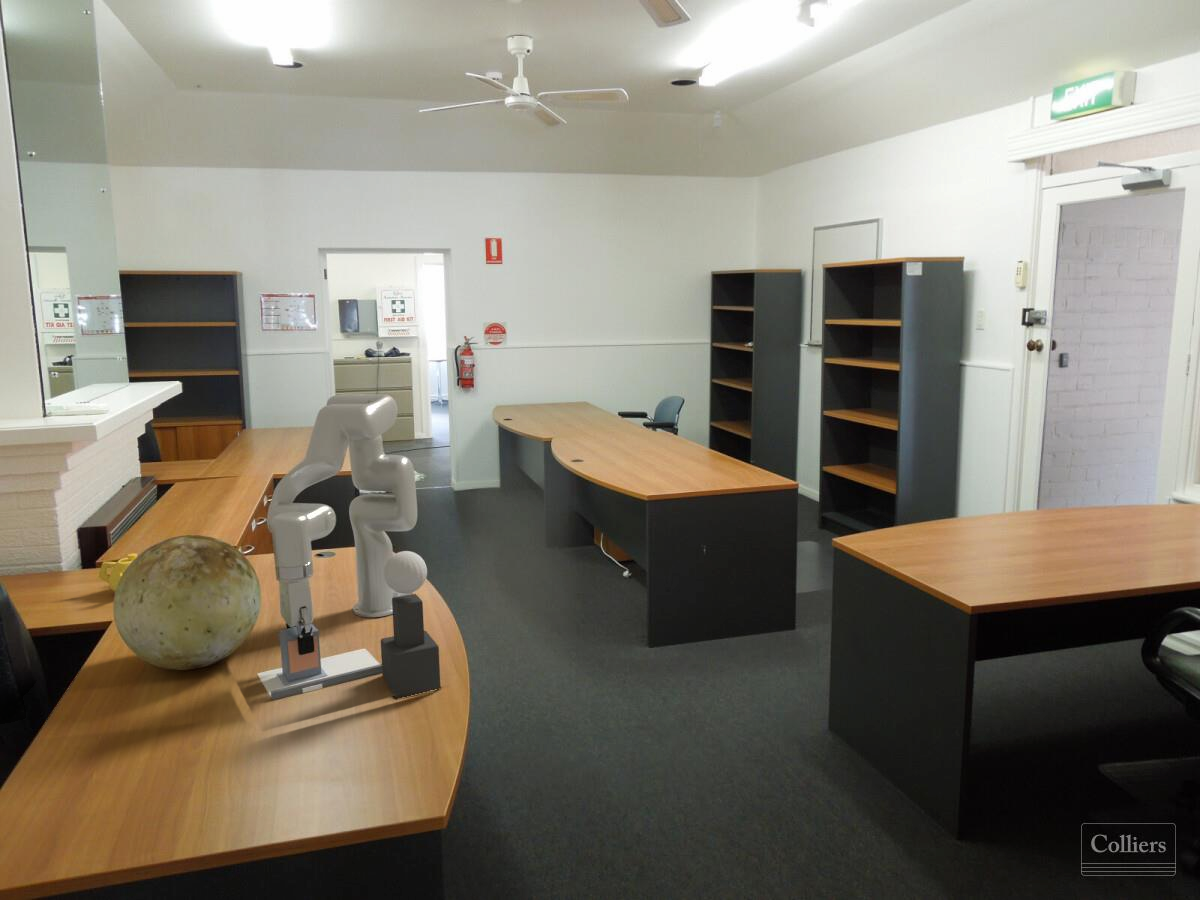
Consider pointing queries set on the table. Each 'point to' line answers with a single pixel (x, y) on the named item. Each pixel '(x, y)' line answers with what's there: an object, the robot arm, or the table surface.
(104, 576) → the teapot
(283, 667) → the box
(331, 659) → the shelf board
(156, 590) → the speckled stone ball
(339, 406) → the robot arm
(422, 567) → the sculpture
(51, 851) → the table surface
